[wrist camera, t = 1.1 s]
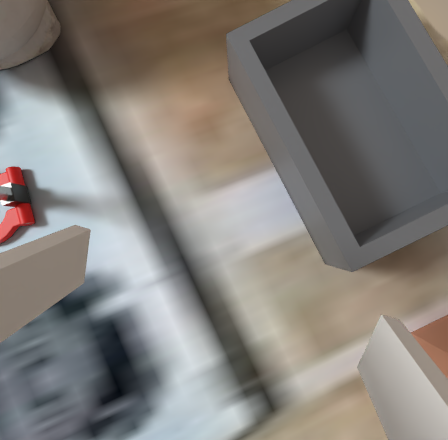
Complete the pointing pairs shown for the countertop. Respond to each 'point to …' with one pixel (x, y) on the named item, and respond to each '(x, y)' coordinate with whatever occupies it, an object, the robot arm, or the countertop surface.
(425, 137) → the open box
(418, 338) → the wooden peg
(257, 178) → the countertop surface
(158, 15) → the countertop surface
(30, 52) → the ceramic pitcher
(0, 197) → the tow hook
